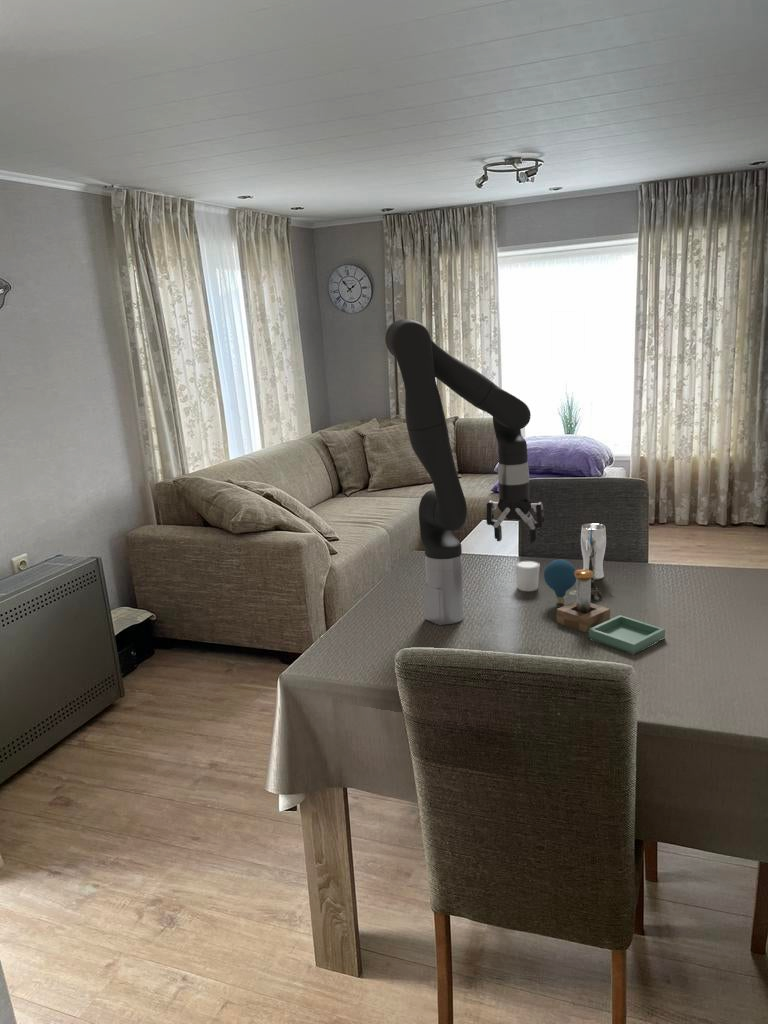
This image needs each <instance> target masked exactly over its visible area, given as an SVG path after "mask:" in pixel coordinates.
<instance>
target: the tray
mask: <svg viewBox="0 0 768 1024" xmlns="http://www.w3.org/2000/svg"><path fill="white" fill-rule="evenodd" d="M664 637H666V629H665V628H663V627H659V626H656V625H653V624H649V623H646V622H644V621H641V620H637V619H635V618H630V617H628V616H624V615H622V614H619V615H617V616H615V617H612V618H610V620H608V621H606V622H603V623H601V624H599V625H597V626H594V627H592V628H590V629H589V632H588V640H590V639H592V640H591V641H593V640H594V642H596V641H597V643H598V642H600V643H599V644H601V643H603V644H602V645H604V644H605V645H604V646H607V645H608V647H610V648H612V647H613V649H615V648H616V649H615V650H618V649H619V650H618V651H621V650H622V651H621V652H623V651H625V652H624V653H626V652H628V653H627V654H629V653H631V654H630V655H632V654H635V653H637V652H639V651H641V650H642V649H644V648H646V647H648V646H650V645H652V644H654V643H655V642H657V641H659V640H660V639H662V638H664ZM641 652H642V651H641ZM639 653H640V652H639ZM637 654H638V653H637ZM635 655H636V654H635Z"/></svg>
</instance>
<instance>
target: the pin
mask: <svg viewBox="0 0 768 1024" xmlns="http://www.w3.org/2000/svg"><path fill="white" fill-rule="evenodd" d="M574 577H576V582H575V585H576V586H575V590H576V595H575V598H576V599H575V601H576V611H577V612H580V613H583V614H586V613H589V612H590V608H591V603H592V602H591V578H593V572H592V571H591V570H586V569H583V568H581V569H576V571H574Z"/></svg>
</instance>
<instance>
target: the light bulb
mask: <svg viewBox="0 0 768 1024" xmlns="http://www.w3.org/2000/svg"><path fill="white" fill-rule="evenodd" d="M576 570H577V569H576V568H575V565H574V564H573V563H571V562H570V561H568V560H566V559H564V558H563V559H562V558H561V559H560V558H559V559H554V560H552V561H550V562H549V563H548V564H547V565H546V567H545V569H544V571H543V572H544V573H543V578H544V581H545V584H546V585H547V586H548V587H549V588H550V589H552V591H554V594H555V596H556V602H557V603H558V604H563V603H564V602H565V597H564V596H566V593H567V592H568V591H569V590H570V589H571V588H573V587H574V585H576V577H574V571H576Z"/></svg>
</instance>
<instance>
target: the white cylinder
mask: <svg viewBox="0 0 768 1024" xmlns="http://www.w3.org/2000/svg"><path fill="white" fill-rule="evenodd" d="M540 565H541V563H540V562H537V561H534V560H521V561H518V562H516V563H515V564H514V566H515V575H516V585H517V586H516V587H517V589H518V590H519V591H522V592H534V591H537V590H538V588H539V578H540V567H541V566H540Z"/></svg>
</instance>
